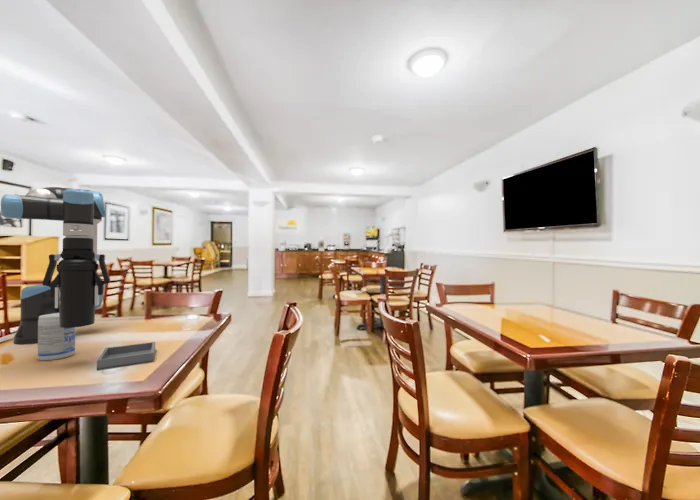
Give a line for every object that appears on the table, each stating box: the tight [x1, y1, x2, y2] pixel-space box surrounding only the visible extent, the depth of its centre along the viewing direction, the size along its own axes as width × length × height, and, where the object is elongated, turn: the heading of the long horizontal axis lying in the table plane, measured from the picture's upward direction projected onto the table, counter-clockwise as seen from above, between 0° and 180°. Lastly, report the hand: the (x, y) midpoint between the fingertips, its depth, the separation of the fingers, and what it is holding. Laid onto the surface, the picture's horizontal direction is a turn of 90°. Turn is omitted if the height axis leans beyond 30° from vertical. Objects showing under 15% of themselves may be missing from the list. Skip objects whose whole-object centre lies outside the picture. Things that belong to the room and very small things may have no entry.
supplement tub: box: [37, 313, 76, 361], centre depth 107 cm, size 10×10×15 cm
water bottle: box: [56, 254, 99, 328], centre depth 100 cm, size 10×10×23 cm
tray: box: [96, 341, 156, 371], centre depth 104 cm, size 15×15×3 cm
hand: (77, 306), depth 100 cm, fingers closed on water bottle, 9 cm apart
